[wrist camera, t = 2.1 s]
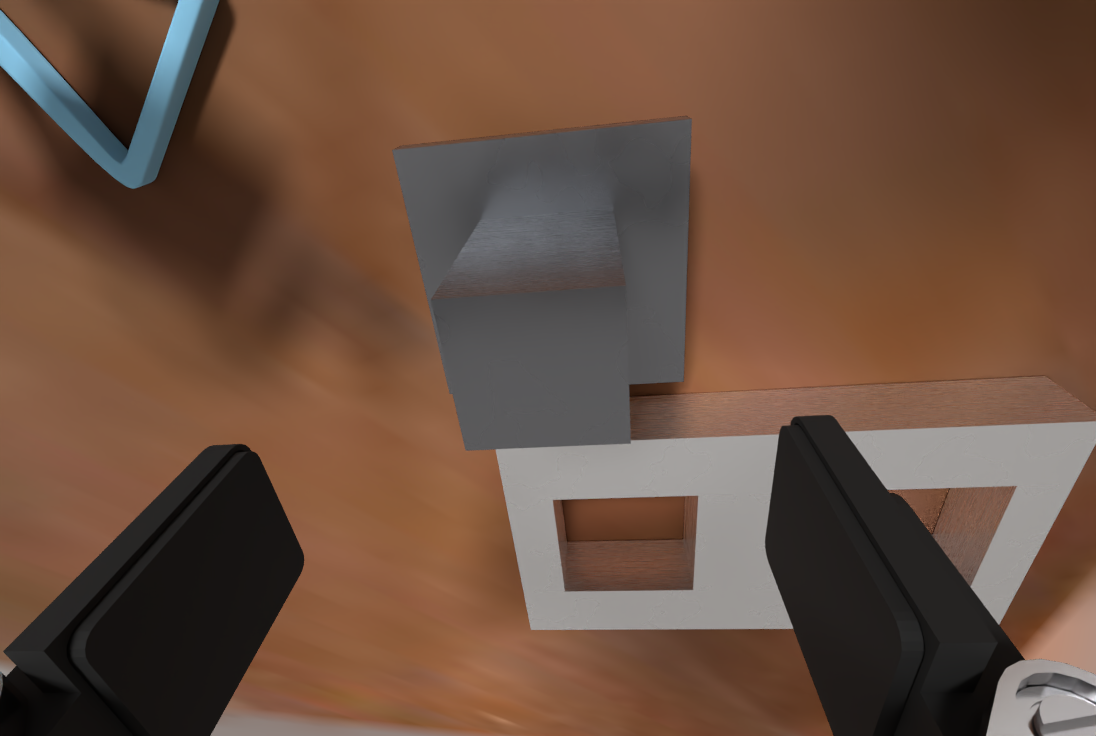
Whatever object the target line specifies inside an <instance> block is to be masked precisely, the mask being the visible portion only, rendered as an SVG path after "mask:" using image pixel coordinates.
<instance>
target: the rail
mask: <svg viewBox="0 0 1096 736" xmlns="http://www.w3.org/2000/svg"><path fill="white" fill-rule="evenodd" d="M629 399H630V431H631V444H610V445H585V446H561V447H537V448H513V449H496V454H497V459H498V464H499V469H500V474H501V479H502V484H503V489H504V494H505V500H506V505H507V510H508V515H509V520H510V525H511V530H512V535H513V540H514V545H515V551H516V556H517V561H518V566H519V571H520V576H521V581H522V586H523V591H524V597H525V602H526V607H527V612H528V617H529V622H530V627H531V630H616V629H793V626H792V624H791V621H790V618H789V616H788V613H787V610H786V608H785V605H784V602H783V600H782V597H781V595H780V592H779V589H778V587H777V584H776V581H775V579H774V576H773V573H772V571H771V568H770V565H769V563H768V560H767V555H766V550H765V536H766V528H767V521H768V513H769V506H770V498H771V491H772V483H773V476H774V468H775V461H776V453H777V446H778V438H779V432H780V429H781V427H782V426H788V425H790V423H791V421H792V419H793V418H794V417H795V416H814V415H831V416H833V417H834V418H835V419H836V420H837V421H838V423H839V424H840V426H841V427H842V428H843V430H844V431H845V432H846V434H847V435H848V437H849V438H850V439H851V441H852V442H853V444H854V445H855V446H856V448H857V449H858V450H859V452H860V453H861V455H862V456H863V457H864V459H865V460H866V461H867V463H868V464H869V466H870V467H871V468H872V470H873V471H874V472H875V474H876V475H877V477H878V478H879V479H880V481H881V482H882V483H883V485H884V486H885V488H886V489H887V490H900V489H933V488H950V490H949V492H948V495H947V498H946V500H945V503H944V505H943V508H942V511H941V513H940V516H939V519H938V521H937V524H936V527H935V529H934V532H933V534H931V535H932V536H933V538H934V539H935V540H936V542H937V543H938V544H939V546H940V547H941V548H942V550H943V551H944V552H945V554H946V555H947V556H948V558H949V559H950V560H951V562H952V563H953V564H954V566H955V567H956V568H957V570H958V571H959V572H960V574H961V575H962V576H963V578H964V579H965V580H966V582H967V583H968V584H969V586H970V587H971V588H972V590H973V591H974V592H975V594H976V595H977V596H978V598H979V599H980V600H981V602H982V603H983V604H984V606H985V607H986V608H987V610H988V611H989V612H990V614H991V615H992V616H993V618H994V619H995V620H996V622H997V623H998V624H1000V622H1001V620H1002V619H1003V617H1004V615H1005V613H1006V611H1007V609H1008V607H1009V605H1010V604H1011V602H1012V600H1013V598H1014V596H1015V594H1016V592H1017V590H1018V589H1019V587H1020V585H1021V583H1022V581H1023V579H1024V577H1025V575H1026V574H1027V572H1028V570H1029V568H1030V566H1031V564H1032V562H1033V560H1034V559H1035V557H1036V555H1037V553H1038V551H1039V549H1040V547H1041V545H1042V544H1043V542H1044V540H1045V538H1046V536H1047V534H1048V532H1049V531H1050V529H1051V527H1052V525H1053V523H1054V521H1055V519H1056V517H1057V516H1058V514H1059V512H1060V510H1061V508H1062V506H1063V504H1064V502H1065V501H1066V499H1067V497H1068V495H1069V493H1070V491H1071V489H1072V487H1073V486H1074V484H1075V482H1076V480H1077V478H1078V476H1079V474H1080V472H1081V471H1082V469H1083V467H1084V465H1085V463H1086V461H1087V459H1088V457H1089V456H1090V454H1091V452H1092V450H1093V448H1094V446H1095V444H1096V412H1095V411H1094V410H1092V409H1091V408H1089V407H1088V406H1087V405H1085V404H1084V403H1082V402H1081V401H1080V400H1078V399H1077V398H1075V397H1074V396H1073V395H1071V394H1070V393H1068V392H1067V391H1066V390H1064V389H1063V388H1061V387H1060V386H1059V385H1057V384H1056V383H1054V382H1053V381H1052V380H1050V379H1049V378H1047V377H1046V376H1036V377H1016V378H996V379H976V380H956V381H936V382H916V383H896V384H876V385H856V386H836V387H815V388H795V389H775V390H755V391H735V392H715V393H695V394H675V395H655V396H635V397H629ZM666 496H685V504H684V531H683V539H675V540H629V541H582V542H567V538H566V530H565V522H564V514H563V505H562V500H565V499H599V498H632V497H666Z"/></svg>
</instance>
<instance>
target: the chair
mask: <svg viewBox="0 0 1096 736" xmlns="http://www.w3.org/2000/svg"><path fill="white" fill-rule="evenodd" d="M218 3H219V0H178V5H177V8H176V11H175V14H174V17H173V20H172V23H171V26H170V28H169V31H168V34H167V37H166V40H165V43H164V46H163V49H162V52H161V55H160V58H159V61H158V64H157V67H156V70H155V73H154V76H153V79H152V82H151V85H150V88H149V91H148V94H147V97H146V100H145V103H144V106H143V109H142V112H141V115H140V118H139V121H138V124H137V127H136V129H135V132H134V135H133V138H132V141H131V144H130V147H129V150H127V149H126V148H125V146H124V145H123V144H122V143H121V142H120V141H119V140H118V139H117V138H116V137H115V136H114V135H113V133H112V132H111V131H110V130H109V129H108V128H107V127H106V126H105V125H104V123H103V122H102V121H101V120H100V119H99V118H98V117H97V116H96V114H95V113H94V112H93V111H92V110H91V109H90V108H89V107H88V106H87V104H86V103H85V102H84V101H83V100H82V99H81V98H80V97H79V96H78V94H77V93H76V92H75V91H74V90H73V89H72V88H71V87H70V85H69V84H68V83H67V82H66V81H65V80H64V79H63V78H62V77H61V75H60V74H59V73H58V72H57V71H56V70H55V69H54V68H53V67H52V65H51V64H50V63H49V62H48V61H47V60H46V59H45V58H44V57H43V56H42V54H41V53H40V52H39V51H38V50H37V49H36V48H35V47H34V46H33V45H32V43H31V42H30V41H29V40H28V39H27V38H26V37H25V36H24V35H23V33H22V32H21V31H20V30H19V29H18V28H17V27H16V26H15V25H14V24H13V23H12V22H11V21H10V19H9V18H8V17H7V16H6V15H5V14H4V13H3V12H2V11H1V10H0V66H1V67H2V68H3V69H4V70H5V71H6V72H7V73H8V74H9V75H10V76H11V77H12V78H13V79H14V80H15V81H16V82H17V83H18V84H19V85H20V86H21V87H22V88H23V89H24V90H25V91H26V92H27V93H28V95H29V96H30V97H31V98H32V99H33V100H34V101H35V102H36V103H37V104H38V105H39V106H40V107H41V108H42V109H43V110H44V111H45V112H46V113H47V114H48V115H49V116H50V117H51V118H52V119H53V120H54V121H55V122H56V123H57V124H58V125H59V126H60V127H61V128H62V129H63V130H64V131H65V132H66V133H67V134H68V135H69V136H70V137H71V138H72V139H73V140H74V141H75V142H76V143H77V144H78V145H79V146H80V147H81V148H82V149H83V150H84V151H85V152H86V153H87V154H88V155H89V156H90V157H91V158H92V159H93V160H94V161H95V162H96V163H97V164H99V165H100V166H101V167H102V168H103V169H104V170H105V171H107V172H108V173H109V174H110V175H111V176H112V177H113V178H115V179H116V180H117V181H119V182H120V183H122V184H123V185H125V186H126V187H129V188H132V189H135V188H138V187H141V186H144V185H146V184H149V183H151V182H153V181H154V180H155V179H156V177H157V175H158V172H159V169H160V166H161V164H162V161H163V158H164V155H165V152H166V149H167V147H168V144H169V141H170V138H171V135H172V133H173V130H174V127H175V124H176V121H177V118H178V116H179V113H180V110H181V107H182V104H183V102H184V99H185V96H186V93H187V90H188V88H189V85H190V82H191V79H192V76H193V73H194V71H195V68H196V65H197V62H198V59H199V57H200V54H201V51H202V48H203V45H204V42H205V40H206V37H207V34H208V31H209V28H210V26H211V23H212V20H213V17H214V14H215V11H216V9H217V6H218Z"/></svg>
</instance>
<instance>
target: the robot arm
mask: <svg viewBox="0 0 1096 736" xmlns="http://www.w3.org/2000/svg"><path fill="white" fill-rule="evenodd" d="M765 550H766V555H767V560H768V563H769V565H770V568H771V571H772V573H773V576H774V579H775V581H776V584H777V587H778V589H779V592H780V595H781V597H782V600H783V602H784V605H785V608H786V610H787V613H788V616H789V618H790V621H791V624H792V626H793V629H794V632H795V634H796V637H797V640H798V642H799V645H800V648H801V650H802V653H803V656H804V658H805V661H806V663H807V666H808V669H809V671H810V674H811V677H812V679H813V682H814V685H815V687H816V690H817V693H818V695H819V698H820V701H821V703H822V706H823V709H824V711H825V714H826V716H827V719H828V722H829V724H830V727H831V730H832V732H833V735H834V736H1096V675H1095V674H1093V673H1091V672H1088V671H1085V670H1082V669H1080V668H1077V667H1074V666H1072V665H1069V664H1067V663H1062V662H1056V661H1050V660H1045V659H1033V660H1025V659H1024V658H1023V656H1022V655H1021V654H1020V652H1019V651H1018V650H1017V648H1016V647H1015V646H1014V644H1013V643H1012V642H1011V640H1010V639H1009V638H1008V636H1007V635H1006V634H1005V632H1004V631H1003V630H1002V628H1001V627H1000V626H999V624H998V623H997V622H996V620H995V619H994V618H993V616H992V615H991V614H990V612H989V611H988V610H987V608H986V607H985V606H984V604H983V603H982V602H981V600H980V599H979V598H978V596H977V595H976V594H975V592H974V591H973V590H972V588H971V587H970V586H969V584H968V583H967V582H966V580H965V579H964V578H963V576H962V575H961V574H960V572H959V571H958V570H957V568H956V567H955V566H954V564H953V563H952V562H951V560H950V559H949V558H948V556H947V555H946V554H945V552H944V551H943V550H942V548H941V547H940V546H939V544H938V543H937V542H936V540H935V539H934V538H933V536H932V535H931V534H930V532H929V531H928V530H927V528H926V527H925V526H924V524H923V523H922V522H921V520H920V519H919V518H918V516H917V515H916V514H915V512H914V511H913V510H912V508H911V507H910V506H909V504H908V503H907V502H906V501H905V500H904V499H903V498H902V497H901V496H899V495H897V494H895V493H889V492H888V490H887V489H886V488H885V486H884V485H883V483H882V482H881V481H880V479H879V478H878V477H877V475H876V474H875V472H874V471H873V470H872V468H871V467H870V466H869V464H868V463H867V461H866V460H865V459H864V457H863V456H862V455H861V453H860V452H859V450H858V449H857V448H856V446H855V445H854V444H853V442H852V441H851V439H850V438H849V437H848V435H847V434H846V432H845V431H844V430H843V428H842V427H841V426H840V424H839V423H838V421H837V420H836V419H835V418H834V417H833V416H831V415H814V416H795V417H794V418H793V419H792V421H791V423H790V425H788V426H782V427H781V429H780V432H779V438H778V446H777V453H776V461H775V468H774V476H773V483H772V491H771V498H770V506H769V513H768V521H767V528H766V536H765ZM303 565H304V554H303V551H302V549H301V547H300V545H299V542H298V540H297V538H296V536H295V534H294V531H293V529H292V527H291V525H290V523H289V521H288V518H287V516H286V514H285V512H284V510H283V507H282V505H281V503H280V501H279V499H278V497H277V494H276V492H275V490H274V488H273V486H272V483H271V481H270V479H269V477H268V475H267V473H266V470H265V468H264V466H263V464H262V462H261V459H260V457H259V456H258V454H256V453H255V452H252V451H251V450H250V448H249V447H247V446H246V445H243V444H232V445H213V446H209V447H207V448H206V449H205V450H203V451H202V452H201V453H200V454H199V455H198V456H197V457H196V458H195V459H194V460H193V461H192V462H191V463H190V464H189V465H188V466H187V467H186V468H185V469H184V470H183V471H182V472H181V473H180V474H179V475H178V476H177V477H176V478H175V479H174V480H173V482H172V483H171V484H170V485H169V486H168V487H167V488H166V489H165V490H164V491H163V492H162V493H161V494H160V495H159V496H158V497H157V498H156V499H155V500H154V501H153V502H152V503H151V504H150V505H149V506H148V507H147V508H146V509H145V510H144V511H143V512H142V513H141V514H140V515H139V516H138V517H137V518H136V519H135V520H134V521H133V522H132V523H131V524H130V525H129V526H128V527H127V528H126V529H125V530H124V531H123V532H122V533H121V534H120V535H119V536H118V537H117V538H116V539H115V540H114V541H113V542H112V543H111V544H110V545H109V546H108V547H107V548H106V549H105V550H104V551H103V552H102V553H101V554H100V555H99V556H98V557H97V558H96V559H95V560H94V561H93V562H92V563H91V564H90V565H89V566H88V567H87V568H86V569H85V570H84V571H83V572H82V573H81V574H80V575H79V576H78V577H77V578H76V579H75V580H74V581H73V582H72V583H71V584H70V585H69V586H68V587H67V588H66V589H65V590H64V591H63V592H62V593H61V594H60V595H59V596H58V597H57V598H56V599H55V600H54V601H53V602H52V603H51V604H50V605H49V606H48V607H47V608H46V609H45V610H44V611H43V612H42V613H41V614H40V615H39V616H38V617H37V618H36V619H35V620H34V621H33V622H32V623H31V624H30V625H29V626H28V627H27V628H26V629H25V630H24V631H23V632H22V633H21V634H20V635H19V636H18V637H17V638H16V639H15V640H14V641H13V642H12V643H11V644H10V645H9V646H8V647H7V648H6V649H5V650H4V651H3V652H4V653H5V654H6V655H7V656H8V657H9V658H10V659H11V660H12V661H13V662H14V663H15V664H16V665H17V666H16V667H15V668H14V669H13V670H12V671H11V672H10V673H9V674H8V675H7V676H6V677H5V676H4V675H3V674H2V673H1V672H0V736H210V735H211V733H212V731H213V730H214V728H215V726H216V724H217V722H218V721H219V719H220V717H221V715H222V714H223V712H224V710H225V708H226V706H227V705H228V703H229V701H230V699H231V697H232V696H233V694H234V692H235V690H236V689H237V687H238V685H239V683H240V681H241V680H242V678H243V676H244V674H245V672H246V671H247V669H248V667H249V665H250V663H251V662H252V660H253V658H254V656H255V655H256V653H257V651H258V649H259V647H260V646H261V644H262V642H263V640H264V638H265V637H266V635H267V633H268V631H269V630H270V628H271V626H272V624H273V622H274V621H275V619H276V617H277V615H278V613H279V612H280V610H281V608H282V606H283V604H284V603H285V601H286V599H287V597H288V596H289V594H290V592H291V590H292V588H293V587H294V585H295V583H296V581H297V579H298V578H299V576H300V574H301V572H302V569H303Z"/></svg>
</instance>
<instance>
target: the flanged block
mask: <svg viewBox="0 0 1096 736" xmlns="http://www.w3.org/2000/svg"><path fill="white" fill-rule="evenodd" d="M691 123H692V119H691V118H690V117H688V116H679V117H670V118H660V119H651V120H641V121H632V122H622V123H613V124H603V125H594V126H584V127H575V128H565V129H556V130H546V131H537V132H527V133H518V134H508V135H498V136H489V137H479V138H470V139H460V140H451V141H441V142H432V143H422V144H413V145H403V146H399V147H397V148H395V149H393V150H392V151H393V155H394V159H395V164H396V168H397V172H398V176H399V181H400V185H401V189H402V193H403V198H404V202H405V206H406V210H407V215H408V219H409V223H410V227H411V232H412V236H413V240H414V244H415V248H416V253H417V257H418V261H419V265H420V270H421V274H422V278H423V282H424V287H425V291H426V295H427V299H428V304H429V308H430V312H431V316H432V321H433V325H434V329H435V333H436V338H437V342H438V346H439V350H440V354H441V359H442V363H443V367H444V371H445V376H446V380H447V384H448V388H449V393H450V394H453V398H454V402H455V406H456V411H457V415H458V419H459V424H460V428H461V432H462V436H463V441H464V445H465V449H466V450H489V449H513V448H537V447H561V446H585V445H610V444H631V431H630V399H629V384H647V383H666V382H684V352H685V320H686V287H687V254H688V222H689V189H690V156H691Z"/></svg>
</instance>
